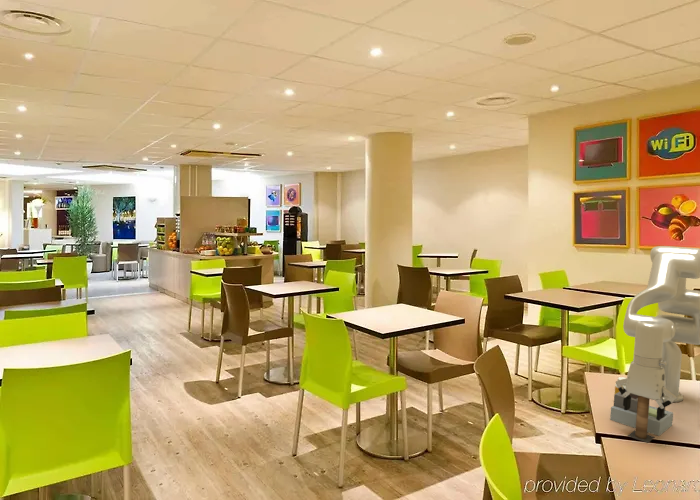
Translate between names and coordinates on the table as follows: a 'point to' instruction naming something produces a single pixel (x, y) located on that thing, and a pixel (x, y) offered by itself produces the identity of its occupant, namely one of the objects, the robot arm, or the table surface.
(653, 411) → the on button
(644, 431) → the brown wooden cylinder
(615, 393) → the supplement bottle
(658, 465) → the table surface
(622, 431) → the table surface
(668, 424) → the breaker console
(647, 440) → the pad
